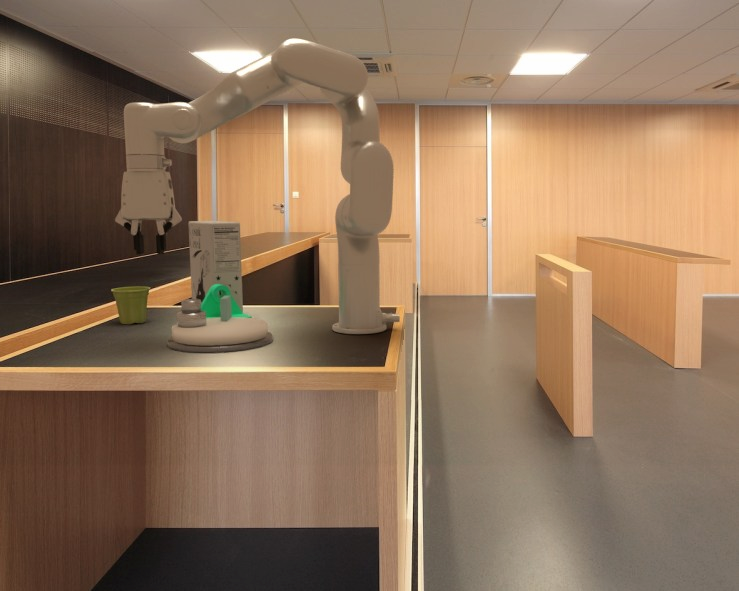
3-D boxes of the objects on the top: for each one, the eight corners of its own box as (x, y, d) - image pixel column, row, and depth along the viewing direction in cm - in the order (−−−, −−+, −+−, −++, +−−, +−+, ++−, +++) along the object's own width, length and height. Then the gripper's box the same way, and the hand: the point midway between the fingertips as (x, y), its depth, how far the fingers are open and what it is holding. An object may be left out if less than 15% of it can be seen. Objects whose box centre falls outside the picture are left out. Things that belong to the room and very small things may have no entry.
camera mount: (205, 332, 155) (203, 288, 153) (194, 327, 161) (192, 285, 160) (253, 327, 161) (251, 285, 160) (241, 322, 167) (239, 282, 166)
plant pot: (105, 325, 165) (102, 290, 163) (127, 318, 174) (125, 285, 172) (138, 326, 162) (136, 291, 161) (159, 320, 171) (157, 286, 170)
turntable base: (277, 331, 154) (277, 327, 154) (266, 352, 132) (266, 347, 132) (181, 333, 153) (181, 328, 153) (154, 353, 131) (154, 348, 131)
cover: (209, 322, 145) (208, 298, 144) (203, 327, 139) (202, 302, 138) (181, 323, 145) (180, 298, 144) (174, 328, 139) (173, 302, 138)
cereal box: (192, 311, 185) (188, 221, 182) (218, 309, 189) (215, 220, 185) (214, 323, 166) (210, 222, 163) (243, 320, 170) (240, 222, 167)
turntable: (272, 326, 153) (271, 294, 152) (261, 344, 133) (260, 308, 132) (184, 328, 152) (183, 296, 151) (160, 346, 132) (159, 309, 131)
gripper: (190, 166, 141) (194, 252, 144) (111, 166, 141) (116, 253, 143) (182, 163, 134) (186, 254, 136) (98, 164, 133) (104, 255, 136)
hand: (150, 252), depth 140 cm, fingers open, 3 cm apart
